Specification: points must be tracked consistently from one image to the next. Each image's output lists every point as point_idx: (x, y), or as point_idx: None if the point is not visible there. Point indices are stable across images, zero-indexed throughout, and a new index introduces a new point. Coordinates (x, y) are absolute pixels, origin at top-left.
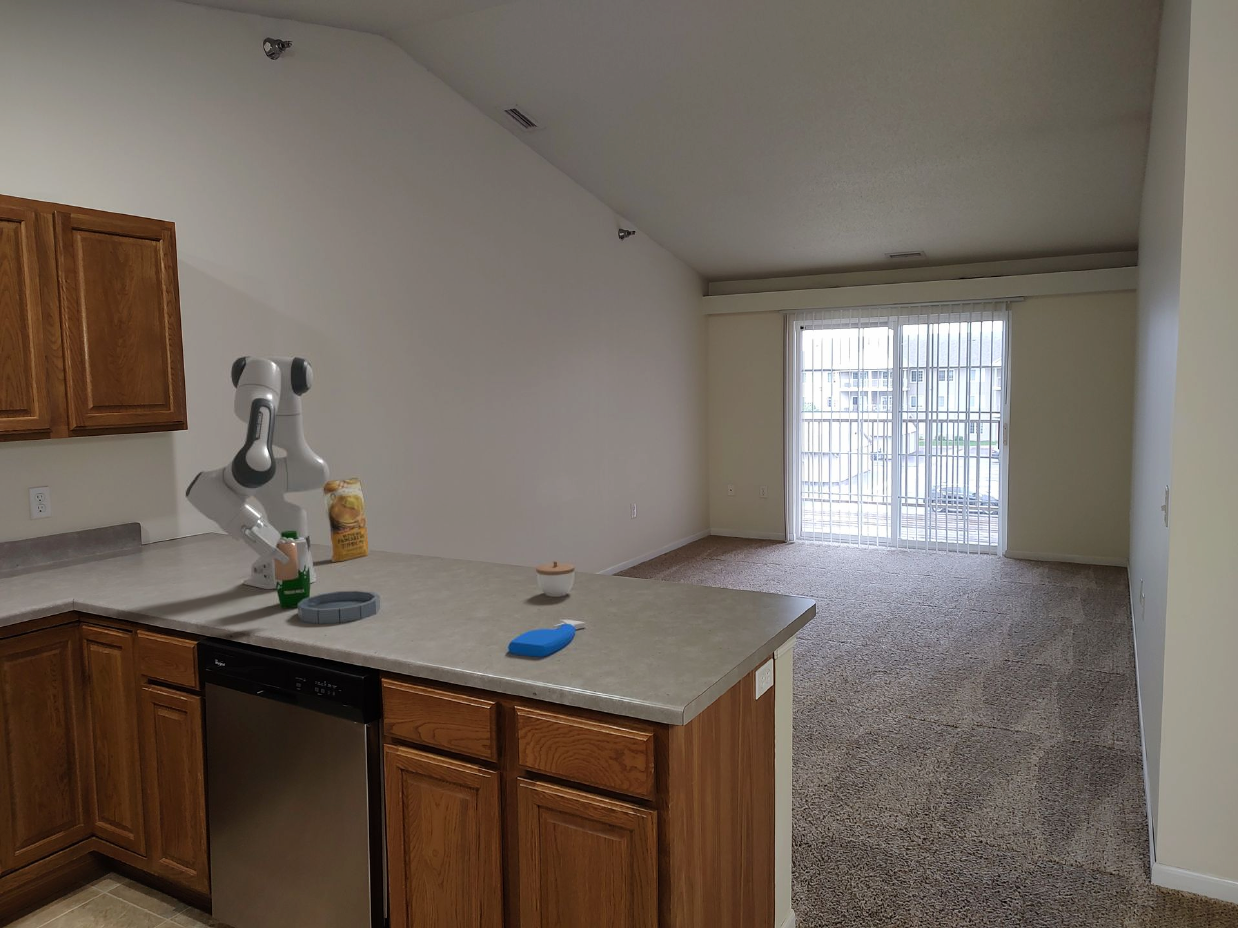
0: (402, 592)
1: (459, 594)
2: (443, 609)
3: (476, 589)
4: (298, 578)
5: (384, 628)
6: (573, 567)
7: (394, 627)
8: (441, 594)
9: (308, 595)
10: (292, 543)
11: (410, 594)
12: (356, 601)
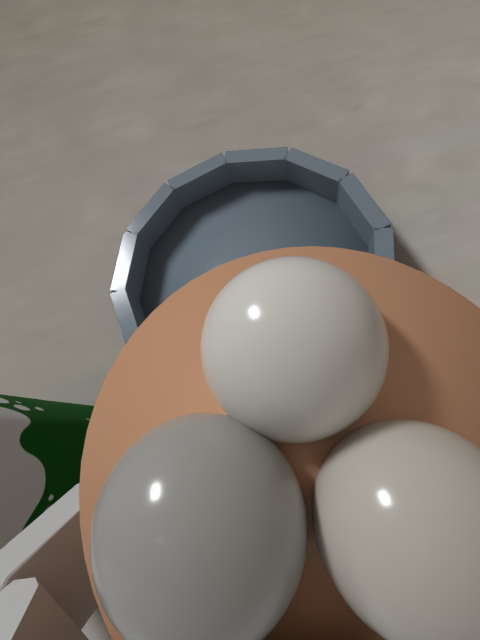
0: (73, 171)
1: (149, 50)
2: (285, 44)
3: (117, 32)
4: (60, 436)
5: (467, 117)
6: None
7: (458, 97)
8: (133, 83)
9: (91, 407)
10: (366, 288)
11: (103, 148)
12: (174, 244)
